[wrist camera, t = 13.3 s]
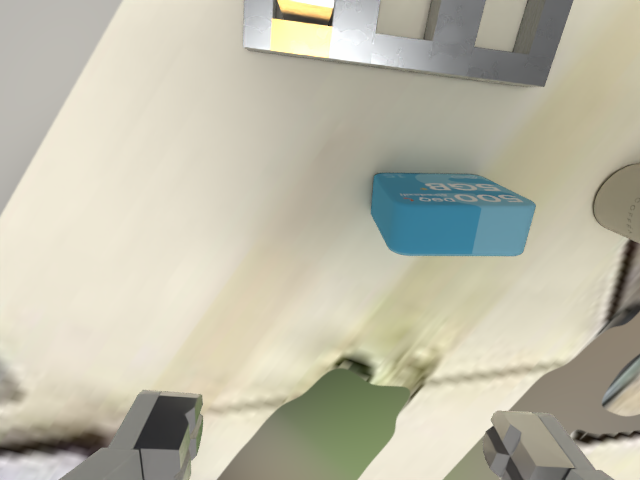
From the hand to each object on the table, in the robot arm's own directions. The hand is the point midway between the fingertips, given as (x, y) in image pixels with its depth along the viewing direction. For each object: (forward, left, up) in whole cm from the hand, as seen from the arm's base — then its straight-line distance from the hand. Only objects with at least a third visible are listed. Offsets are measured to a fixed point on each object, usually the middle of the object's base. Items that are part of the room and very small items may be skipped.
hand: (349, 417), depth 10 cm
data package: (-12, +1, -31) cm, 34 cm away
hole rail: (-6, -16, -31) cm, 35 cm away
